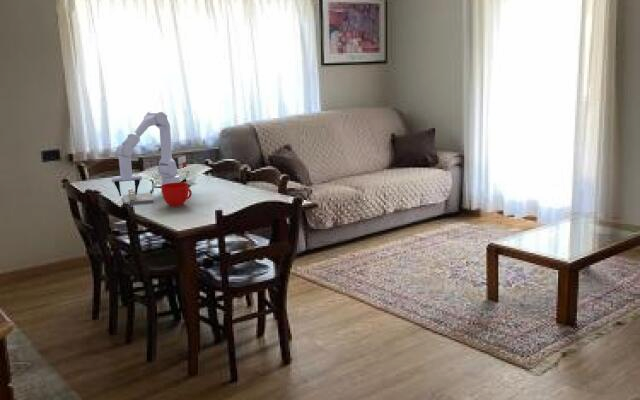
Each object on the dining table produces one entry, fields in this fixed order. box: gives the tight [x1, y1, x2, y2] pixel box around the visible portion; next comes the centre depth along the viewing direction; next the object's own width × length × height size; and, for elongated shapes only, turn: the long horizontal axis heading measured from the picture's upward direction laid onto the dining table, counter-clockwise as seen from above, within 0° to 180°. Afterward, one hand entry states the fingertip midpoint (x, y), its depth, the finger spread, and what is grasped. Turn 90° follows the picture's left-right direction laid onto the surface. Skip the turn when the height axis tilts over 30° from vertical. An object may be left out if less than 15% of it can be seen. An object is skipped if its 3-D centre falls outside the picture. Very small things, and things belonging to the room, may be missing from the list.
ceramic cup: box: [160, 182, 192, 208], centre depth 294 cm, size 13×17×10 cm
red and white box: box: [172, 154, 188, 169], centre depth 355 cm, size 11×4×15 cm, turn 168°
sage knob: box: [128, 192, 135, 200], centre depth 301 cm, size 2×2×3 cm
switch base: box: [122, 192, 155, 206], centre depth 309 cm, size 14×19×2 cm
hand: (128, 195), depth 307 cm, fingers open, 7 cm apart
